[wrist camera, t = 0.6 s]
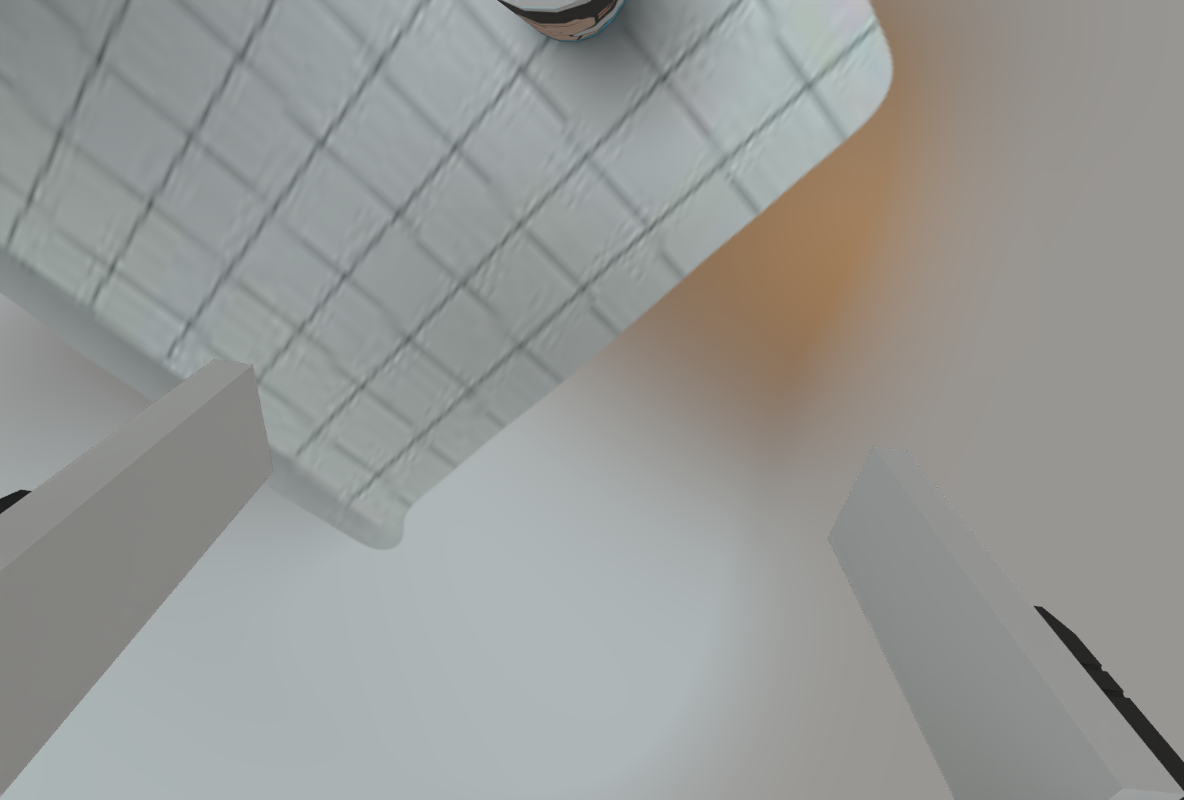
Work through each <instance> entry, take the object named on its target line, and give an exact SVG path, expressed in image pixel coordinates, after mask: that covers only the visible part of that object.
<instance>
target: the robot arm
mask: <svg viewBox="0 0 1184 800" xmlns="http://www.w3.org/2000/svg"><path fill="white" fill-rule="evenodd" d="M272 472H273V467H272V462H271V456H270V451H269V446H268V441H267V436H266V430H265V425H264V420H263V415H262V410H261V404H260V399H259V394H258V389H257V384H256V379H255V373H254V368H253V364H246V363H238V362H230V361H223V360H215V359H214V360H212V361H211V362H210V363H208V364H207V365H206V366H204V367H203V368H201V369H200V370H199V371H197V372H196V373H194V374H193V375H192V376H190V377H189V378H188V379H186V380H185V381H183V382H182V383H181V384H179V385H178V386H177V387H175V388H174V389H172V390H171V391H170V392H168V393H167V394H165V395H164V396H163V397H161V398H160V399H159V400H157V401H156V402H154V403H153V404H152V405H150V406H149V407H148V408H146V409H145V410H143V411H142V412H141V413H139V414H138V415H136V416H135V417H134V418H132V419H131V420H130V421H128V422H127V423H126V424H124V425H123V426H121V427H120V428H119V429H117V430H116V431H114V432H113V433H112V434H110V435H109V436H108V437H106V438H105V439H104V440H102V441H101V442H99V443H98V444H97V445H95V446H94V447H92V448H91V449H90V450H88V451H87V452H85V453H84V454H83V455H81V456H80V457H79V458H77V459H76V460H74V461H73V462H72V463H70V464H69V465H67V466H66V467H65V468H63V469H62V470H61V471H59V472H58V473H56V474H55V475H54V476H52V477H51V478H50V479H48V480H47V481H45V482H44V483H43V484H41V485H40V486H39V487H37V488H36V489H34V490H33V491H26V490H19V491H17V492H15V493H12V494H10V495H8V496H6V497H3V498H1V499H0V797H1V795H2V794H3V793H4V792H5V791H6V789H7V788H8V787H9V786H10V785H11V784H12V782H13V781H14V780H15V779H16V778H17V776H18V775H19V774H20V773H21V771H22V770H23V769H24V768H25V767H26V766H27V764H28V763H29V762H30V761H31V760H32V758H33V757H34V756H35V755H36V754H37V753H38V751H39V750H40V749H41V748H42V747H43V745H44V744H45V743H46V742H47V741H48V739H49V738H50V737H51V736H52V735H53V733H54V732H55V731H56V730H57V729H58V727H59V726H60V725H61V724H62V723H63V721H64V720H65V719H66V718H67V717H68V715H69V714H70V713H71V712H72V711H73V709H74V708H75V707H76V706H77V705H78V703H79V702H80V701H81V700H82V699H83V698H84V696H85V695H86V694H87V693H88V691H89V690H90V689H91V688H92V687H93V686H94V684H95V683H96V682H97V681H98V680H99V679H100V677H101V676H102V675H103V674H104V672H105V671H106V670H107V669H108V668H109V667H110V665H111V664H112V663H113V661H115V659H116V658H117V657H118V656H119V655H120V653H121V652H122V651H123V650H124V649H125V647H126V646H127V645H128V644H129V643H130V642H131V640H132V639H133V638H134V637H135V636H136V634H137V633H138V632H139V631H140V629H141V628H142V627H143V626H144V625H145V624H146V622H147V621H148V620H149V619H150V618H151V616H152V615H153V614H154V613H155V612H156V610H157V609H158V608H159V607H160V606H161V605H162V603H163V602H164V601H165V600H166V598H167V597H168V596H169V595H170V594H171V593H172V591H173V590H174V589H175V588H176V587H177V585H178V584H179V583H180V582H181V581H182V579H183V578H184V577H185V576H186V575H187V573H188V572H189V571H190V570H191V569H192V567H193V566H194V565H195V564H196V563H197V561H198V560H199V559H200V558H201V557H202V556H203V554H204V553H205V552H206V551H207V550H208V548H209V547H210V546H211V545H212V544H213V542H214V541H215V540H216V539H217V538H218V537H219V535H220V534H221V533H222V532H223V530H224V529H225V528H226V527H227V526H228V524H229V523H230V522H231V521H232V520H233V519H234V517H235V516H236V515H237V514H238V513H239V511H240V510H241V509H242V508H243V507H244V505H245V504H246V503H247V502H248V501H249V499H250V498H251V497H252V496H253V495H254V493H255V492H256V491H257V490H258V489H259V487H260V486H261V485H262V484H263V483H264V482H265V480H266V479H267V478H268V477H269V476H270V474H271V473H272ZM828 540H829V542H830V544H831V546H832V548H833V551H834V552H835V555H836V557H837V559H838V561H839V563H840V565H841V567H842V569H843V571H844V573H845V575H846V577H847V579H848V581H849V583H850V586H851V587H852V589H853V592H854V594H855V596H856V598H857V600H858V602H859V604H860V606H861V608H862V610H863V612H864V614H865V616H866V618H867V620H868V623H869V625H870V627H871V628H872V631H873V633H874V635H875V637H876V639H877V641H878V643H879V645H880V647H881V649H882V651H883V653H884V655H885V658H886V660H887V662H888V664H889V665H890V667H891V670H892V672H893V674H894V676H895V678H896V680H897V682H898V684H899V686H900V688H901V690H902V692H903V695H904V697H905V699H906V701H907V703H908V705H909V707H910V709H911V711H912V713H913V715H914V717H915V719H916V721H917V723H918V725H919V727H920V730H921V732H922V734H923V736H924V738H925V740H926V742H927V744H928V746H929V748H930V750H931V752H932V754H933V756H934V758H935V760H936V762H937V765H938V766H939V769H940V771H941V773H942V775H943V777H944V779H945V781H946V783H947V785H948V787H949V789H950V791H951V793H952V795H953V797H954V800H1184V762H1183V761H1182V760H1181V758H1180V757H1179V756H1178V755H1177V754H1176V753H1175V751H1174V750H1173V749H1172V748H1171V747H1170V746H1169V744H1168V743H1167V742H1166V741H1165V740H1164V739H1163V737H1162V736H1161V735H1160V734H1159V732H1158V731H1157V730H1156V729H1155V728H1154V727H1153V725H1152V724H1151V723H1150V722H1149V721H1148V720H1147V718H1146V717H1145V716H1144V715H1143V714H1142V712H1141V711H1140V710H1139V709H1138V708H1137V706H1136V705H1135V704H1134V703H1133V702H1132V701H1131V699H1130V698H1125V697H1124V695H1123V690H1122V689H1121V688H1120V686H1119V685H1118V684H1117V683H1116V682H1115V681H1114V680H1113V678H1112V677H1111V676H1110V675H1109V674H1108V672H1106V671H1102V669H1101V666H1102V665H1101V664H1100V663H1099V662H1098V660H1096V658H1095V657H1094V656H1093V655H1092V654H1091V652H1090V651H1089V650H1088V649H1087V648H1086V646H1085V645H1084V644H1083V643H1082V642H1081V641H1080V639H1079V638H1078V637H1077V636H1076V634H1074V633H1073V632H1072V631H1071V630H1069V629H1068V628H1067V627H1066V626H1065V625H1063V624H1062V623H1061V622H1060V621H1058V620H1057V619H1056V618H1055V617H1054V616H1052V615H1051V614H1050V613H1049V612H1048V611H1046V610H1045V609H1044V608H1043V607H1038V606H1033V605H1032V604H1031V603H1030V601H1029V600H1028V599H1027V598H1026V596H1024V594H1023V593H1022V592H1021V590H1020V589H1019V588H1018V587H1017V585H1016V584H1015V583H1014V582H1013V581H1012V579H1011V578H1010V577H1009V576H1008V574H1007V573H1006V572H1005V571H1004V569H1003V568H1002V567H1001V566H1000V565H999V563H998V562H997V561H996V560H995V559H994V557H993V556H992V555H991V553H990V552H989V551H988V550H987V548H986V547H985V546H984V545H983V544H982V543H981V541H980V540H979V539H978V537H977V536H976V535H975V534H974V533H973V531H972V530H971V529H970V528H969V526H968V525H967V524H966V523H965V521H964V520H963V519H962V518H961V517H960V515H959V514H958V513H957V512H956V510H955V509H954V508H953V507H952V505H951V504H950V503H949V502H948V501H947V499H946V498H945V497H944V496H943V494H942V493H941V492H940V491H939V489H938V488H937V487H936V486H935V485H934V483H933V482H932V481H931V480H930V479H929V477H928V476H927V475H926V473H925V472H924V471H923V470H922V469H921V467H920V466H919V465H918V464H917V462H916V461H915V460H914V459H913V457H912V456H911V455H910V454H909V453H908V451H906V450H898V449H890V448H883V447H876V446H873V448H872V449H871V452H870V454H869V456H868V458H867V460H866V462H865V464H864V466H863V468H862V470H861V472H860V474H859V476H858V478H857V480H856V482H855V484H854V486H853V488H852V490H851V492H850V494H849V496H848V498H847V500H846V502H845V504H844V506H843V508H842V510H841V512H840V514H839V516H838V518H837V520H836V522H835V524H834V526H833V528H832V530H831V532H830V534H829V536H828Z"/></svg>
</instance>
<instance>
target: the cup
mask: <svg viewBox="0 0 1184 800" xmlns="http://www.w3.org/2000/svg"><path fill="white" fill-rule="evenodd" d="M498 1H499V2H500V3H502V4H503V5H504V6H506V7H507V8H508V9H510V10H511V11H512V12H514V13H515V14H516V15H518V16H519V17H520V18H522V19H523V20H524V21H526V22H527V23H528V24H530V25H531V26H532V27H534V28H535V29H536V30H538V31H539V32H540V33H542V34H544V35H547V36H549V37H552V38H554V39H556V40H559V41H581V40H584V39H587V38H589V37H592V36H595V35H597V34H598V33H599V32H601V31H602V30H603V29H604V28H606V27H607V26H608V25H609V24H610V23H612V22H613V20H614V19H615V17H616V15H617V14H618V12H619V11H620V9H621V8H622V6H623V5H624V3H625V0H498Z"/></svg>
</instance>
